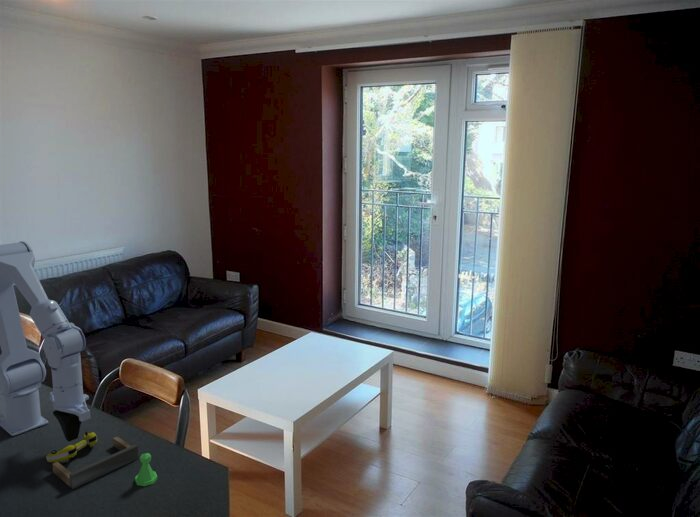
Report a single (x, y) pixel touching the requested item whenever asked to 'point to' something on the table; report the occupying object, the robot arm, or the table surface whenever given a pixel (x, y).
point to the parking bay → (98, 465)
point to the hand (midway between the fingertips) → (72, 439)
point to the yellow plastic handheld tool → (72, 449)
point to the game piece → (145, 472)
